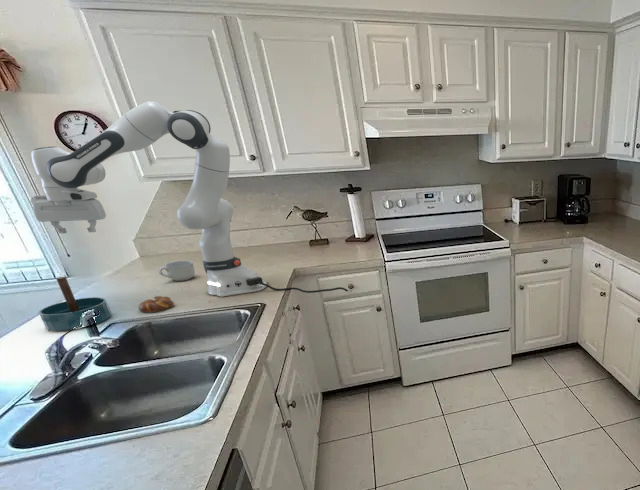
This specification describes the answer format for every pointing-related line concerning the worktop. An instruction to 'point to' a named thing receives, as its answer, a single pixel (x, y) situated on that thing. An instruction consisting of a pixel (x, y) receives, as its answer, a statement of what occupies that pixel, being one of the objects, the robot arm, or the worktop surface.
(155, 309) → the pretzel
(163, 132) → the robot arm
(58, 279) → the stirring stick
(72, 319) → the bowl
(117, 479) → the worktop surface
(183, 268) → the teacup
